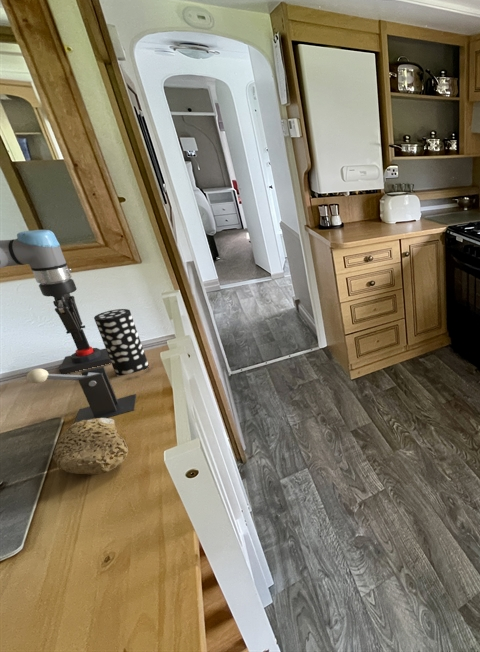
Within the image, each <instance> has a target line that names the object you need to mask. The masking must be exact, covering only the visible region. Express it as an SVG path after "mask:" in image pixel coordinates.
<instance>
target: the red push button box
mask: <svg viewBox="0 0 480 652" xmlns="http://www.w3.org/2000/svg"><path fill="white" fill-rule="evenodd" d="M92 349H93V351H94V352H93V353H91V354H89V355H85V356H77V354H76V352H75V351H74V353H72V354H71V355H67V356H65V357H64V358H63V360H62V362H61V365H60V367H59V368H58V371H59V374H65V375H71V373H70V372H74V373H76V372H75V371H78V372H79V373H80V371H79V370H82V371H84V370H83V369H87V370H89V369H88V368H91V369H93V368H92V367H96V368H98V367H97V366H100V367H102V366H101V365H104V367H105V366H106V365H105V364H109V363H111V361H110V358H109V355H108V353H107V350H106V348H105V347H104V348H98V347H92ZM109 365H110V364H109ZM82 371H81V372H82ZM78 372H77V373H78ZM67 373H69V374H67Z"/></svg>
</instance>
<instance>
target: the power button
mask: <svg viewBox="0 0 480 652" xmlns="http://www.w3.org/2000/svg"><path fill="white" fill-rule="evenodd" d="M92 348H93V346H90V347H89V348H87V349H83V350H77V349H76V350H75V351H74V353H75V352H76V354H77V356H85V355H89V354H91V353H93V352H94V351H93V349H92Z"/></svg>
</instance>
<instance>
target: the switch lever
mask: <svg viewBox="0 0 480 652" xmlns="http://www.w3.org/2000/svg"><path fill="white" fill-rule="evenodd" d="M95 374H99V373H90V372H88V375H87V376H91V375H95ZM102 374H103V373H102ZM82 377H86V376H83V375H82V374H65V375H64V374H61V373H49V371H48V370H46V369H44V368H34V369H31V370H30V371H28V373H26V380H27V381H28V382H29V383H31V384H41V383H44V382H45V381H47V380H54V381H55V380H56V381H57V380H59V381H75V382H77V381H78V382H79V378H82Z"/></svg>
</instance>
